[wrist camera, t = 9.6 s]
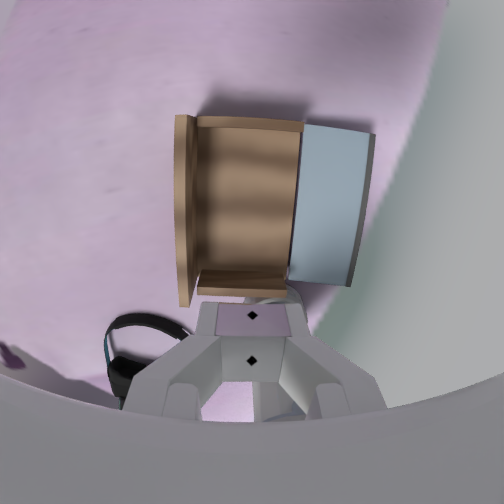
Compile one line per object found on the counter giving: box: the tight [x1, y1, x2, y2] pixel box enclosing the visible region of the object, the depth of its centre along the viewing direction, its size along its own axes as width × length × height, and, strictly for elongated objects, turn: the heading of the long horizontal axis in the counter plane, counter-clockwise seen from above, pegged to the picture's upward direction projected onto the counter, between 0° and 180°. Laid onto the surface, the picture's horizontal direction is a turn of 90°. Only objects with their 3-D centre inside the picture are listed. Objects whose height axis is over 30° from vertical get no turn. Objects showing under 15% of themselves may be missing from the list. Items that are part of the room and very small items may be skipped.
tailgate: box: [288, 124, 376, 287], centre depth 38 cm, size 22×2×9 cm
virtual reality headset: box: [104, 313, 189, 410], centre depth 48 cm, size 19×22×10 cm
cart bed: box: [174, 115, 304, 308], centre depth 35 cm, size 22×14×11 cm, turn 177°
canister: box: [243, 285, 308, 422], centre depth 34 cm, size 10×10×30 cm
